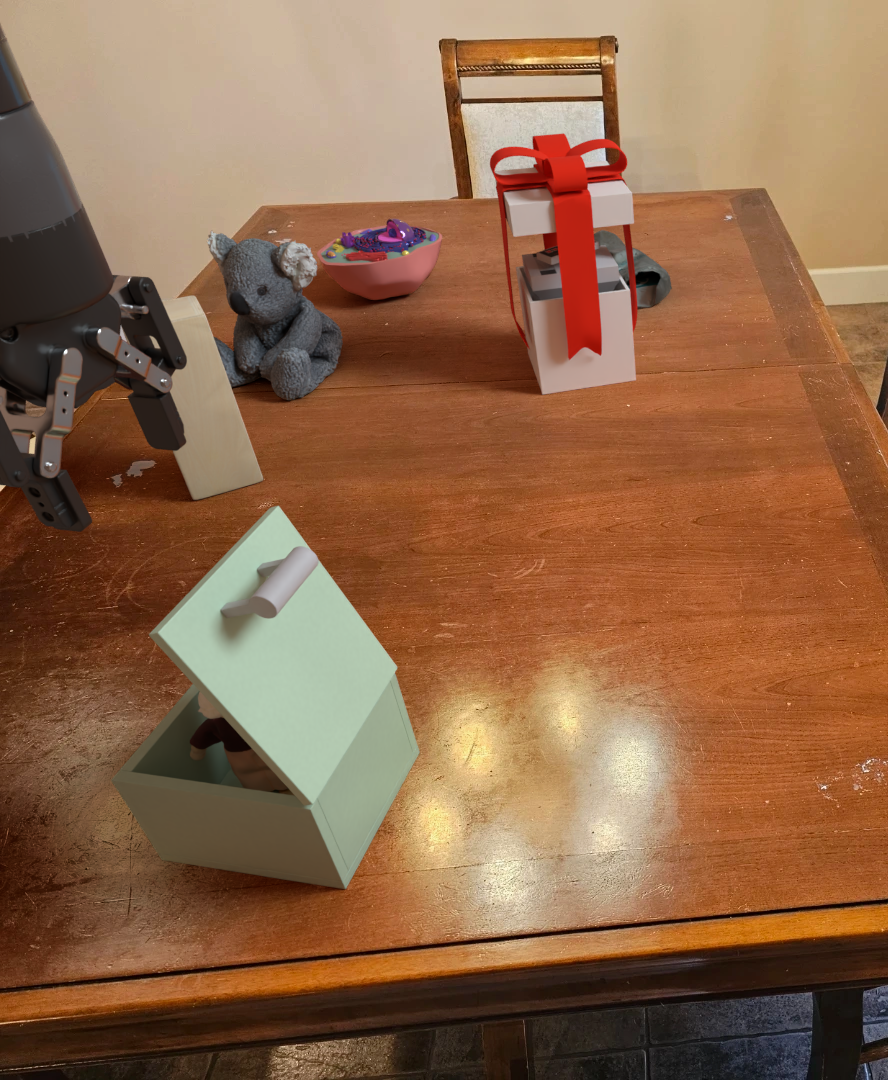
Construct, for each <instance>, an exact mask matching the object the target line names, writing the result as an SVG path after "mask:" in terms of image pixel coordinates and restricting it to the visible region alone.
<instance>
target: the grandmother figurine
mask: <svg viewBox="0 0 888 1080" xmlns="http://www.w3.org/2000/svg"><path fill="white" fill-rule="evenodd" d="M198 702H199V706H200V709H199V710H198V712H201V713H202V714H203V715H204V716H205V717H207V718H208V719H207V720H205V721H204V722H203V723H202V724H201V725H200V726H199V727H198V729H197V730H196V731H195V733H194V735H193V736H192V738H191V739H190V744H191V745H192V746H191V749H192V750H191V752H190V757H191V758H192V759H193V760H196V761H198V760H202V759H203V758H204V757H205V755H206V749H207V748H208V747H210V746H212V745H214V744H217V743H219V742H221V741H222V742H223V743H224V751H225V753H226V756H227V759H228V761H229V763H230V765H231V768H232V770H233V772H234V774H235V775H236V777H237V778H238V780H239V781H240V783H241V784H242V786H243V788H245V789H252V790H259V791H266V792H273V790H275V789H276V790H279V793H280V794H287V795H293V796H295V795H294V794H293V793H292V792H291V791H290V790H289V788H288V787H287V786H286V785H285V784H284V783H283V782H282V781H281V780H280V779H279V777H278V776H277V775H276V774H275V773H274V772H273V771H272V770H271V769H270V768H269V766H268V765H267V764H266V763H265V762H264V761H263V760H262V759H261V758H260V757H259V756H258V754H257V753H256V752H255V751H254V750H253V749H252V748H251V747H250V746H249V745H248V743H247V742H246V741H245V740H244V739H243V738H242V737H241V736H240V735H239V734H238V733H237V731H236V730H235V729H234V728H233V727H232V726H231V725H230V724H229V723H228V722H227V720H226V719H225V718H224V717H223V716H222V715H221V714H220V713H219V712H218V711H217V710H216V708H215V707H214V706H213V705H212V704H211V703H210V702H209V701H208V700H207V699H206V697H205V696H204V695H203V694H202V693H201V692H199V696H198Z"/></svg>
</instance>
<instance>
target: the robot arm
mask: <svg viewBox="0 0 888 1080" xmlns="http://www.w3.org/2000/svg"><path fill="white" fill-rule="evenodd" d="M31 94H32V93H31V92H30V89H29V87H28V85H27V82H26V81H25V78H24V76H23V74H22V70H21V68H20V66H19V64H18V61H17V58H16V56H15V54H14V52H13V49H12V47H11V44H10V42H9V40H8V38H7V37H6V33H5V31H4V28H3V26H2V24H1V23H0V486H7V487H9V488H20V489H21V490H22V492H23V494H24V496H25V498H26V499H27V501H28V503H29V505H30V506H31V508H32V510H33V512H35V513H34V514H35V515H36V518H37V519H38V520H39V522H40V523H42V524H43V525H44V526H45V527H50V528H51V527H52V528H54V529H56V530H60V531H69V532H76V533H77V532H78V533H81V532H83V531H84V530H85V529H87V528H88V527H89V526H91V524H92V523H93V518H92V516H91V514H90V513H89V511H88V508H87V506H86V504H85V503H84V501H83V498H82V497H81V495H80V492H79V491H78V490H77V487H76V485H75V484H74V482H73V480H72V477H71V475H70V474H69V472H68V470H67V469H62V468H61V466H62V465H61V464H62V455H63V454H62V452H63V443H64V438H65V437H66V436H67V435H70V433H71V432H72V431H73V426H74V425H73V424H74V413H75V410H77V409H79V408H80V407H81V406H83V405H84V404H86V403H87V402H88V401H89V399H90V398H91V397H92V396H93V395H94V394H95V392H99V391H102V390H105V389H108V388H109V387H110V386H112V385H113V384H115V383H116V384H118V385H119V386H121V387H123V388H124V389H126V390H129V391H132V392H131V393H129V394H128V395H127V400H128V402H129V404H130V406H131V408H132V411H133V413H134V415H135V418H136V419H137V422H138V424H139V427H140V429H141V431H142V433H143V436H144V438H145V440H146V442H147V444H148V445H149V446H150V447H151V448H153V449H155V450H162V451H171V452H173V451H177V450H179V449H180V448H181V447H182V446H184V445H185V444H186V438H185V436H184V425H183V422H182V420H181V417H180V415H179V412H178V411H177V407H176V405H175V403H174V400H173V398H172V395H171V393H170V390H171V389H172V385H173V382H172V378H171V376H172V375H173V373H174V372H175V370H176V369H178V370H182V369H184V368H185V366H186V364H187V357H186V354H185V352H184V350H183V348H182V345H181V343H180V341H179V339H178V336H177V334H176V332H175V330H174V327H173V325H172V323H171V320H170V318H169V316H168V314H167V311H166V309H165V307H164V305H163V302H162V301H163V300H162V298H161V296H160V293H159V291H158V289H157V286H156V285H155V282H154V281H153V279H151V277H148V276H137V275H135V276H134V275H123V274H121V275H120V274H113V273H112V270H111V268H110V266H109V263H108V261H107V258H106V256H105V254H104V251H103V249H102V247H101V244H100V241H99V239H98V237H97V235H96V234H97V233H96V232H95V229H94V227H93V225H92V223H91V220H90V218H89V215H88V213H87V210H86V208H85V206H84V203H83V201H82V199H81V197H80V194H79V191H78V190H77V187H76V184H75V182H74V180H73V177H72V175H71V172H70V170H69V168H68V165H67V162H66V161H65V158H64V156H63V153H62V151H61V149H60V147H59V145H58V143H57V142H56V140H55V138H54V136H53V134H52V132H51V131H50V129H49V127H48V126H47V124H46V123H45V121H44V118H43V117H42V115H41V114H40V112H39V110H38V107H37V105H36V104H35V101H34V100H33V99H32V95H31ZM121 326H122V327H121ZM122 328H123V330H122V332H123V331H124V333H125V335H126V337H127V339H128V341H129V343H130V344H129V343H127V340H124V339H123V338H122V336H121V329H122ZM124 333H123V334H124ZM125 335H124V336H125ZM150 336H152V337H154V338H155V339H156V341H157V343H158V345H159V347H160V348H155V347H154V344H153V342H152V340H151V338H150ZM26 403H30V404H31V405H33V406H36V407H39V408H40V407H41V408H45V411H44V412H43V414H42V415H40V416H32V415H31V416H30V415H28V413H27V411H26V407H27V404H26ZM33 433H34V434H35V439H34V441H35V443H34V450H33V451H34V452H33V453H30V447H31V445H30V444H31V436H32V434H33Z"/></svg>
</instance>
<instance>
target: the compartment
mask: <svg viewBox="0 0 888 1080" xmlns="http://www.w3.org/2000/svg"><path fill="white" fill-rule="evenodd" d="M199 692H200V691H199V690H198V689H197V688H196V687H195V685H194V684H193V683H192V684H191V686H190V687H189V688H188V689H187V690H186V691H185V692H184V694H183V695H182V696H181V697H180V698H179V700H177V702H176V703H175V705H173V706H172V708H171V709H170V710H169V711H168V712H167V714H166V715H165V716H164V717H163V718H162V720H161V721H160V722H159V723H158V725H156V727H155V728H154V729H153V730H152V731H151V733H149V735H148V736H147V737H146V738H145V740H144V741H142V743H141V744H140V745H139V747H137V749H136V750H135V751H134V752H133V754H132V755H131V756H130V757H129V758H128V760H126V762H125V763H124V764H123V765H122V766H121V768H120V769H119V770H118V771H117V773H115V775H114V776H113V777H112V778H111V779H110V781H111V783H112V784H113V786H114V787H115V789H116V791H117V792H118V794H119V795H120V797H121V798H122V800H123V802H124V803H125V805H126V807H127V808H128V809H129V811H130V812H131V814H132V816H133V817H134V819H135V820H136V822H137V824H138V825H139V827H140V829H141V830H142V831H143V833H144V835H145V836H146V838H147V839H148V840H149V842H150V844H151V846H152V847H153V849H154V850H155V852H156V854H157V855H158V856H159V858H160V860H162V861H166V862H172V863H178V864H183V865H191V866H197V867H203V868H208V869H209V868H211V869H214V870H215V869H216V870H222V871H228V872H235V873H241V874H247V875H254V876H259V877H260V876H261V877H266V878H271V879H278V880H284V881H285V880H286V881H292V882H298V883H303V884H309V885H317V886H323V887H329V888H336V889H343V890H347V888H348V886H349V885H350V883H351V880H352V879H353V876H354V875H355V873H356V871H357V869H358V868H359V865H360V864H361V862H362V860H363V858H364V857H365V854H366V853H367V851H368V849H369V848H370V846H371V843H372V842H373V840H374V839H375V836H376V834H377V832H378V830H379V829H380V826H381V825H382V823H383V821H384V819H385V817H386V815H388V812H389V810H390V809H391V806H392V804H393V802H394V801H395V800H396V797H397V796H398V793H399V792H400V790H401V788H402V786H403V784H404V782H405V781H406V778H407V777H408V775H409V773H410V771H411V769H412V768H413V766H414V764H415V762H416V761H417V758H418V756H419V755H420V751H421V750H420V748H419V745H418V742H417V739H416V736H415V733H414V729H413V726H412V724H411V723H412V722H411V720H410V717H409V714H408V710H407V707H406V703H405V701H404V697H403V695H402V691H401V688H400V684H399V681H398V677H397V675H396V672H395V673H394V675H393V676H392V678H391V680H390V681H389V683H388V684H387V686H386V688H385V689H384V691H383V692H382V694H381V696H380V697H379V699H378V700H377V702H376V704H375V705H374V707H373V709H372V710H371V712H370V713H369V715H368V717H367V718H366V720H365V721H364V723H363V725H362V726H361V728H360V729H359V731H358V733H357V734H356V736H355V738H354V739H353V741H352V742H351V744H350V746H349V747H348V749H347V750H346V752H345V754H344V755H343V757H342V758H341V760H340V762H339V763H338V765H337V767H336V768H335V770H334V771H333V773H332V775H331V776H330V778H329V779H328V781H327V783H326V784H325V786H324V787H323V789H322V791H321V792H320V794H319V796H318V797H317V799H316V800H315V802H314V804H312V805H303V804H302V803H301V802H300V800H299V799H298V798H297V797H296V796H293V795H287V794H280V793H279V790H276V789H275V790H273V792H266V791H259V790H252V789H245V788H243V786H242V784H241V783H240V781H239V780H238V778H237V777H236V775H235V774H234V772H233V770H232V768H231V765H230V763H229V761H228V759H227V756H226V753H225V751H224V743H223V742H222V741H221V742H219V743H217V744H214V745H212V746H210V747H208V748H207V749H206V755H205V757H204V758H203V759H202V760H198V761H196V760H193V759H192V758H191V757H190V752H191V750H192V749H191V746H192V745H191V744H190V739H191V738H192V736H193V735H194V733H195V731H196V730H197V729H198V727H199V726H200V725H201V724H202V723H203V722H204V721H205V720H207V719H208V718H207V717H205V716H204V715H203V714H202V713H201V712H198V710H199V709H200V706H199V702H198V696H199Z"/></svg>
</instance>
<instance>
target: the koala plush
mask: <svg viewBox="0 0 888 1080" xmlns="http://www.w3.org/2000/svg"><path fill="white" fill-rule="evenodd" d="M209 233H210V234H208V236H207V237H208V238H207V239H206V240H207V241H206V243H207V246H208V249H209V252H210V254H211V256H212V258H213V260H214V261H215V263H217V266H218V269H219V272H220V273H221V275H222V276H223V277H222V278H223V282H224V283H223V284H224V286H225V291H226V292H225V293H226V294H225V296H226V300H227V303H228V305H229V308H230V309H231V310H232V311H233V312H234V313H235V314H237V316H236V321H235V324H234V326H233V327H234V328H233V335H232V336H233V337H232V341H233V342H232V345H233V349H232V348H230V347H229V345H228V344H226V343H225V342H223V341H222V340H221V339H219V338H218V337H217V336H214V335H213V337H214V340H215V343H216V345H217V348H218V351H219V354H220V357H221V360H222V363H223V365H224V368H225V371H226V374H227V377H228V380H229V382H230V385H231V388H235V387H239V386H242V385H246V384H250V383H252V382H255V381H257V380H259V379H261V378H264V379H266V380H267V381H270V383H271V387H272V389H273V392H274V393H275V394H276V396H278V397H280V398H281V399H283V400H287V401H291V400H295V399H298V398H300V399H301V398H304V396H306V395H308V394H310V393H311V392H313V391H315V390H316V388H318V387H319V386H320V384H322V382H324V380H325V379H326V377H328V376H330V375H331V374H334V372H335V370H336V369H337V365H338V364H339V358H340V357H341V353H342V347H343V344H344V343H343V342H344V341H343V338H344V336H343V334H342V329H341V328H340V326H339V325H338V323H336V322H335V321H334V320H333V319H332V318H330V316H328V315H327V314H325V313H324V312H322V311H321V310H319V309H317V308H316V307H315V304H314V303H313V302H312V301H311V300H309V299H308V298H307V297H306V296H304V295H303V290H304V289H305V288H307V287H309V285H310V284H311V283H312V281H313V278H314V277H316V276H317V271H318V265H317V264H318V262H317V260H316V259H315V258H314V254H313V253H312V250H311V249H312V247H308V246H307V244H305V243H299V242H296V240H293V241H292V240H291V241H287V242H283V243H281V244H279V246H278V245H275V244H274V243H273V242H270V240H269V241H268V240H262V239H260V238H255V237H251V238H244V239H242V240H240V241H239V242H238V243H237V242H236V241H235V239H233V238H230V237H229V236H227V235H226V234H224V233H222V232H219V233H216V232H214V231H213V229H212V230H211V231H210V232H209Z"/></svg>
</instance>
